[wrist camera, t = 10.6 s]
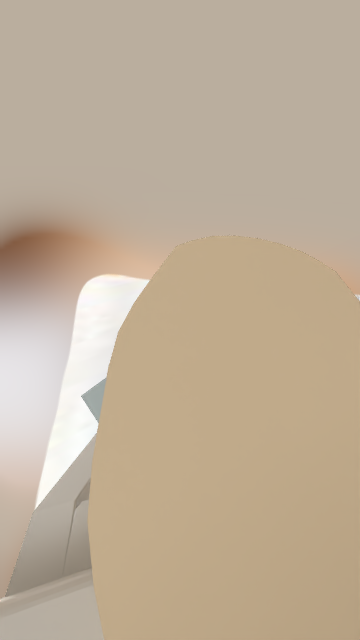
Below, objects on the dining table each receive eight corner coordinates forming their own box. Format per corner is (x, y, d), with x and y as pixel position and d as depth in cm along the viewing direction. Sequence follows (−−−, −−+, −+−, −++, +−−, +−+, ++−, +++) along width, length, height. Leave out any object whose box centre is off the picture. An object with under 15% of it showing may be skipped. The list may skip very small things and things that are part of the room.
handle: (193, 370, 18) (360, 256, 4) (193, 456, 15) (591, 819, 2) (138, 366, 17) (134, 216, 4) (128, 456, 15) (-12, 1059, 1)
